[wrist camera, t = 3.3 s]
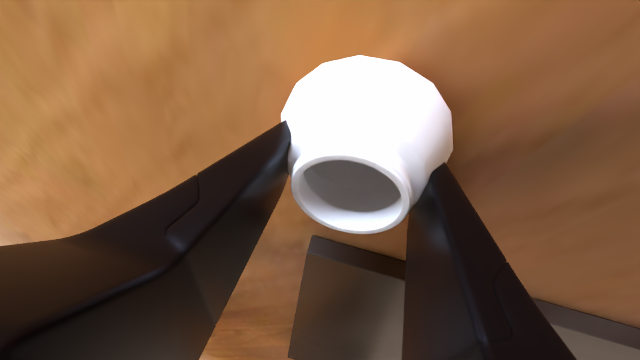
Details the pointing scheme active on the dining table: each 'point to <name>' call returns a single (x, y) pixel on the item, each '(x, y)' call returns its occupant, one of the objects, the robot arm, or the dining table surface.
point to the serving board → (388, 312)
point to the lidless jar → (364, 142)
